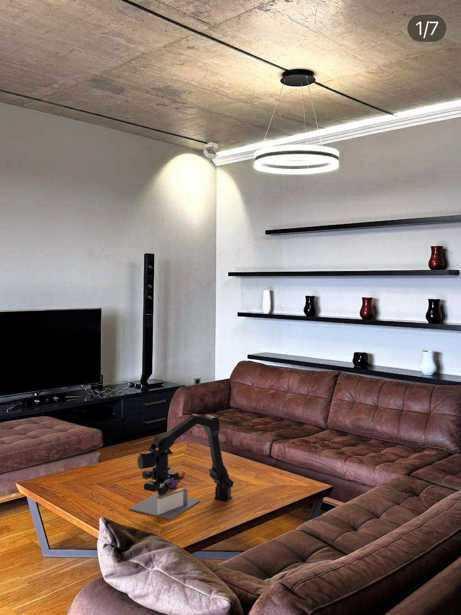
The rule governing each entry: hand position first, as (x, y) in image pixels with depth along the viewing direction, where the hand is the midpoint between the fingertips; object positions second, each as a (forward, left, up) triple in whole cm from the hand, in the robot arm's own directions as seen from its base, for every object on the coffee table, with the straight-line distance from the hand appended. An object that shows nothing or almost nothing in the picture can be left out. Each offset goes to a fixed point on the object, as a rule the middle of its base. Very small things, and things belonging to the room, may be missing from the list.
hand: (161, 500), depth 259 cm
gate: (-3, -2, -4) cm, 6 cm away
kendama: (+15, -34, -6) cm, 37 cm away
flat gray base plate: (+3, -6, -5) cm, 8 cm away
